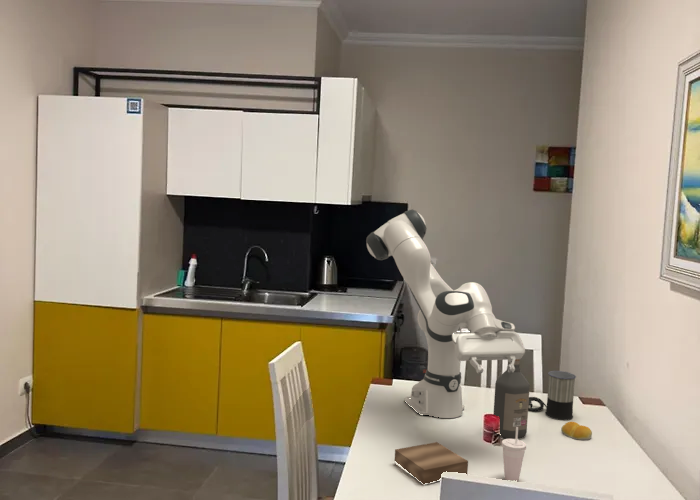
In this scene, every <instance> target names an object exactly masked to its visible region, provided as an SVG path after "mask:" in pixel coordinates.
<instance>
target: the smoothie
mask: <svg viewBox="0 0 700 500" xmlns="http://www.w3.org/2000/svg"><path fill="white" fill-rule="evenodd" d="M501 447H502V458H503V460H502V461H503V475H504V479H505V480H506V481H508V480H515V481H516V480H517V482H519V481H518V480H520V476H521V472H522V467H523V461H524V456H525V451H526V450H527V443H526V442H524V441H523V440H521V439H518V427H516V437H515V439H506V438H503V440H501Z"/></svg>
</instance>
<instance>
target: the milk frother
mask: <svg viewBox="0 0 700 500" xmlns="http://www.w3.org/2000/svg"><path fill="white" fill-rule="evenodd" d="M547 374H548V385H547V398H546V400H547V401H546V404H545V402H544V401H543V400H542V399H541V398H538V397H536V396H529V405H528V411H530V412H540V411H542V410H543V409H544V407H545V408H546V409H545V412H544V414H545V415H546V416H547V417H548V418H551V419H553V420H557V421H558V420H559V421H569V420H573V418H574V416H573V412H574V408H573V407H574V395H575V383H576V382H575V380H576V378H577V376H576V375H575V374H574V373H572V372H568V371H563V370H552V371H549V372H548V373H547ZM532 402H537V403H538V404H539V405H540V406H538V407H533V403H532Z"/></svg>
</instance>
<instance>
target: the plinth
mask: <svg viewBox="0 0 700 500" xmlns="http://www.w3.org/2000/svg"><path fill="white" fill-rule="evenodd" d="M394 461H396V462H397V463H398V464H400V465H401V466H402V467H403V468H404V469H406V470H407V471H408V472H409V473H411V474H412V475H413V476H414V477H416V478H417V479H418V480H419V481H421V482H422V483H423V484H425V483H430V482H433V481H437V480H439V479H440V478H441V474H442V473H443V472H446V471H447V472H458V473H466V474H467V475H468V471H469V460H467V459H466V458H464V457H462V456H460V455H459V454H457V453H456V452H454V451H452V450H451V449H449V448H448V447H446V446H444V445H442V444H441V443H440V442H437V441H435V442H429V443H424V444H419V445H418V444H417V445H413V446H408V447H401V448H396V449H394ZM419 481H418V482H419ZM423 484H422V485H423Z"/></svg>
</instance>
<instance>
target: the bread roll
mask: <svg viewBox="0 0 700 500" xmlns="http://www.w3.org/2000/svg"><path fill="white" fill-rule="evenodd" d="M560 428H561V433H562V434H563V435H564V436H566V437H569V438H572V439H574V440H579V441H588V440H590V439H591V438H592V435H593V431H592V429H591V428H589V427H588V426H586V425H581V424H579V423H578V422H575V421H568V422H566V423H564V424H563V425H562V426H561V427H560Z"/></svg>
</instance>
